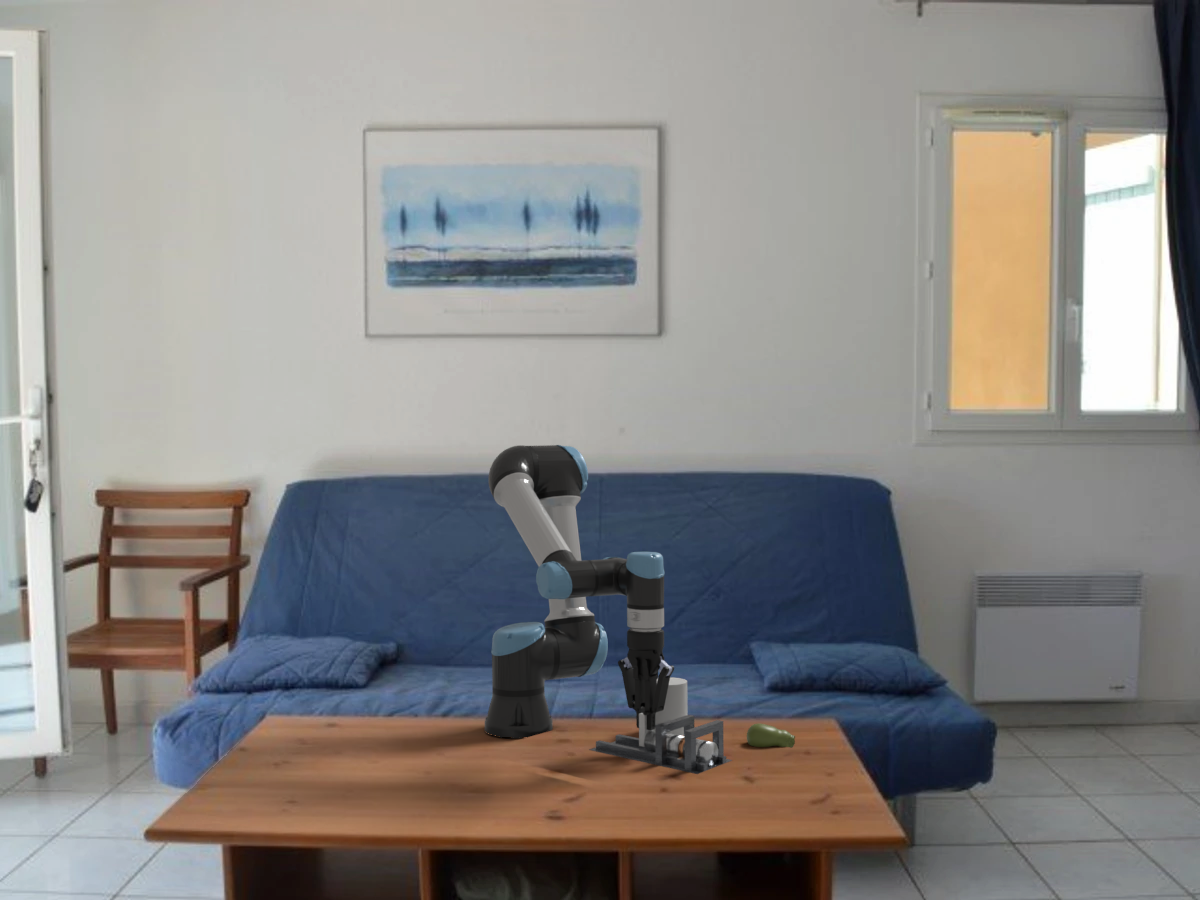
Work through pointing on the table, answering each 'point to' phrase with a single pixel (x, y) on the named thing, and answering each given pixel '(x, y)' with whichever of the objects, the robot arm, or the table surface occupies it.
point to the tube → (676, 747)
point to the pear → (769, 736)
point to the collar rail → (632, 750)
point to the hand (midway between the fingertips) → (645, 744)
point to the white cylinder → (674, 704)
